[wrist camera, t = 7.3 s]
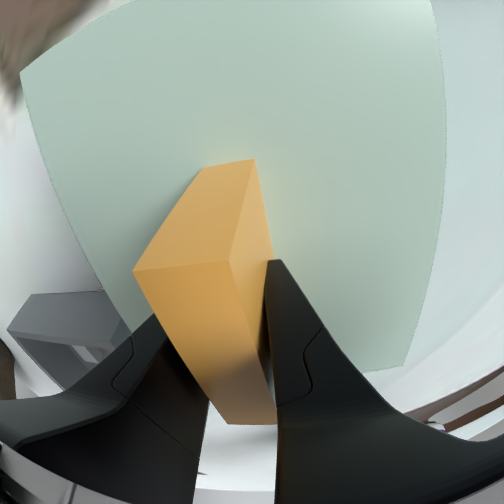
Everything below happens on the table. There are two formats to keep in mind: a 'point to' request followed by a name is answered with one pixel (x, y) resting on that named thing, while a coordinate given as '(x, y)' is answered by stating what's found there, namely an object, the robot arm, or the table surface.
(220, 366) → the lid
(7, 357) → the pitcher
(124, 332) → the tub
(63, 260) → the table surface
